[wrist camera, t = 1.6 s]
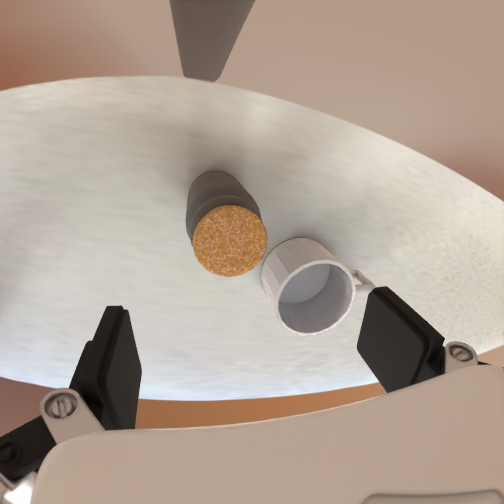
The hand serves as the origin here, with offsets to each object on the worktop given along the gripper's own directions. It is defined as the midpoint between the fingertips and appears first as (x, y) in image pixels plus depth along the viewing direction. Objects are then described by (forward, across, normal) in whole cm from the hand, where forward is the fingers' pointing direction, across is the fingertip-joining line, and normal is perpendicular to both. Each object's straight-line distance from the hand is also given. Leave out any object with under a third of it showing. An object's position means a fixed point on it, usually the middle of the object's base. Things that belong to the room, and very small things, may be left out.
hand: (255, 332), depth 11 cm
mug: (+24, -12, +9) cm, 28 cm away
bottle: (+24, 0, 0) cm, 24 cm away
